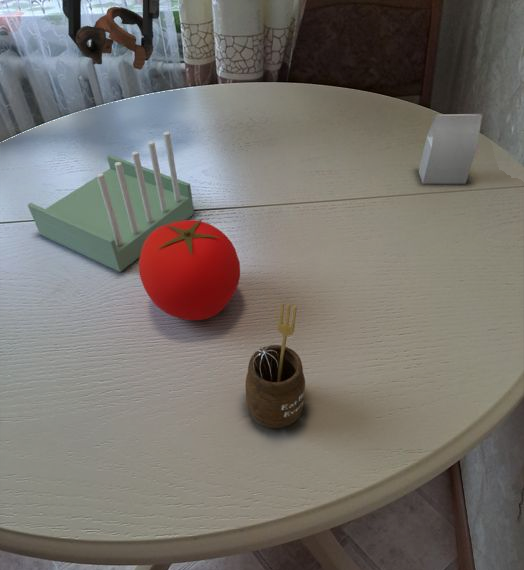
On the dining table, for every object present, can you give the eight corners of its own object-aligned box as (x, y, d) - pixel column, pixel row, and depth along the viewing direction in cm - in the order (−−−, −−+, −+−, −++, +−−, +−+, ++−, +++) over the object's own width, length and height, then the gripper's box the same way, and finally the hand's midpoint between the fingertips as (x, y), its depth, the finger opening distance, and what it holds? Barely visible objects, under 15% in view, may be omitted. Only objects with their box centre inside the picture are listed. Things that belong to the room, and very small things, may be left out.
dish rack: (40, 234, 73) (3, 149, 63) (117, 183, 81) (95, 101, 72) (120, 272, 67) (93, 184, 57) (194, 213, 75) (182, 128, 66)
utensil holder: (237, 419, 51) (229, 342, 42) (262, 374, 55) (259, 294, 46) (291, 439, 50) (294, 363, 41) (312, 391, 53) (320, 312, 44)
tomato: (259, 311, 62) (257, 241, 54) (174, 350, 58) (157, 281, 50) (213, 259, 68) (205, 191, 60) (134, 291, 64) (114, 222, 56)
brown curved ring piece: (120, 49, 85) (136, 2, 79) (153, 90, 84) (171, 46, 78) (57, 48, 76) (68, -5, 70) (92, 94, 76) (107, 44, 70)
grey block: (465, 183, 79) (485, 120, 72) (422, 183, 80) (438, 121, 72) (460, 171, 82) (479, 109, 74) (418, 171, 82) (433, 109, 74)
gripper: (193, -100, 76) (192, 53, 77) (46, -98, 77) (47, 52, 78) (183, -145, 68) (182, 25, 70) (20, -142, 69) (22, 25, 71)
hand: (111, 39), depth 74 cm, fingers closed on brown curved ring piece, 10 cm apart
